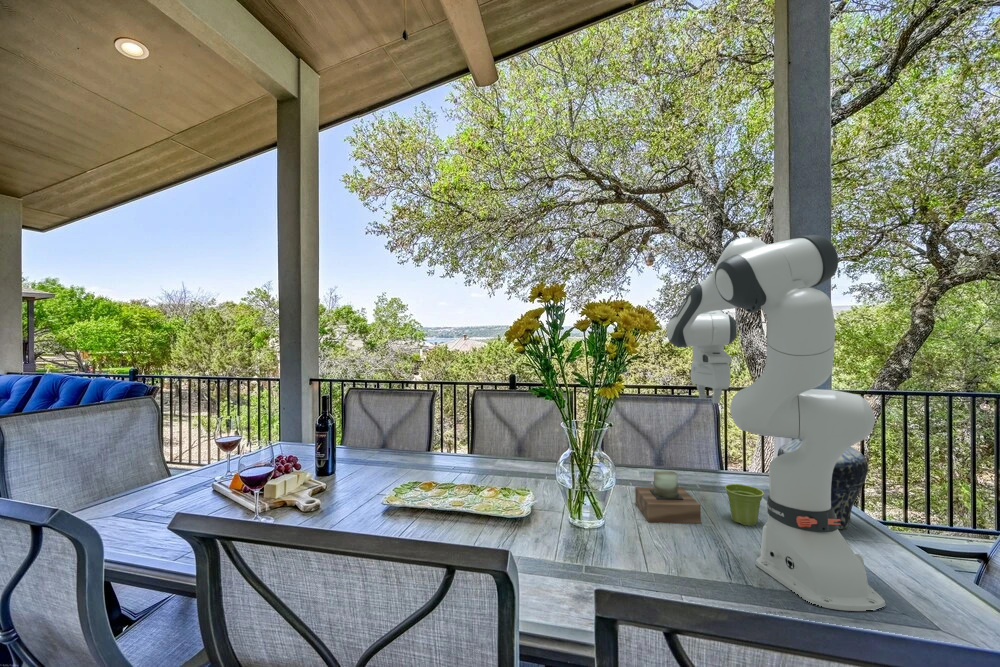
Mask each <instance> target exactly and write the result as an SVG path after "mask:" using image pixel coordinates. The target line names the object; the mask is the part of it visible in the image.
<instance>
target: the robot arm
mask: <svg viewBox="0 0 1000 667" xmlns="http://www.w3.org/2000/svg"><path fill="white" fill-rule="evenodd" d="M838 265H839V254H838V251H837V249H836V247H835V246H834V244H833V243H832V242H831V241H830V240H829V239H828V238H826V237H825V236H822V235H819V234H817V235H816V234H809V235H800V236H796V237H794V238H791V239H786V240H782V241H778V242H777V241H776V242H773V243H766V242H764V241H763V240H761V239H759V238H757V237H751V236H745V237H743V236H742V237H739V238H736V239H734V240H733V241H732V242H730V243H729V244H728V245H727V246H726V248H725V249H723V252H722V253H721V255H720V256H719V258H718V260H717V262H716V264H715V266H714V268H713V271H712V273H711V274H710V275H709V276H708V277H707V278H705V279H703V281H701V282H699V283H697V284H696V285H694V286H693V287H692V288H691V289H690V290H689V292H688V293H687V295H686V296H685V298H684V299H683V301H682V303H681V305H680V306H679V307H678V309H677V311H676V312H675V313H674V315H672V316H671V317H670V318H669V320H668V323H667V327H666V334H667V339H668V342H670V343H671V344H672V345H673V346H674V347H677V348H688V347H692V362H691V365H690V366H691V367H690V381H691V383H692V384H694V385H696V389H697V392H698V398H699V400H707V393H706V387H707V388H711V389H712V392H713V393H712V396H711V403H712V404H720V402H721V396H722V393H723V390H728V389H729V388H730V386H731V366H730V364H731V363H732V356H731V355H730V354H728V353H727V352H726V351H725V346H729V345H731V344H732V343H733V342H734V341H735V340H736V339H737V336H738V331H737V330H738V329H737V328H738V327H737V324H738V323H737V320H736V319H735V318H734V317H733V316H731V314H729V313H724V312H723V310H724V311H725V310H731V309H744V310H745V311H746V312H747V313H751V314H754V313H757V312H758V311H759V310H760V309H762V311H763V312H764V313H765V315H766V319H767V331H766V357H765V358H766V360H765V366H764V370H763V372H762V373H761V375H760V376H759V377H758V378H757V379H756V380H755V381H754V382H753V383H751V384H750V385H748V386H746V387H743V388H742V389H740V390H738V391H737V392H736V393H735V394H734V396H733V397H732V399H731V402H730V406H729V411H730V416H731V419H732V421H733V423H734V424H735V425H736V426H737V428H738V429H739V430H740V431H744V432H748V433H751V434H755V435H760V436H764V437H774V438H783V439H784V438H786V439H793V440H794V439H800V440H802V444H801V445H800V447H799V448H798V449H796V450H794V451H792V452H788V453H785V454H782V455H780V456H776V457H775V458H773V459H772V460H771V461H770V462H769V465H768V486H769V495H768V496H767V500H766V507H767V509H766V510H767V514H768V518H767V520H766V522H765V523H764V525H763V527H762V532H761V534H762V535H761V545H760V546H761V548H760V556H758V557H757V558H755V566H757V567H758V568H759V569H761V570H762V571H763V572H765V573H766V574H767V575H769V576H770V577H772V578H773V579H774V580H776V581H777V582H779V583H780V584H782V585H783V586H785V587H786V588H787V589H789V590H790V591H791V590H792V592H793V593H794V592H795V593H794V594H795V595H797V594H798V595H799V597H800V598H801V597H802V598H801V599H803V600H804V601H805V600H806V602H807V601H808V602H807V603H809V602H810V603H809V604H811V603H812V604H811V605H813V604H816V605H815V606H817V605H819V606H818V607H821V606H822V608H826V609H831V610H839V611H845V612H849V611H850V612H851V611H852V612H853V611H854V612H867V611H866V610H871V609H876V608H879V607H882V606H884V605H886V600H885V599H884V598H883V597H882V596H881V595H879V593H878V592H877V591H875V589H874V588H872V587H871V586H870V585H869V583H868V577H867V571H866V568H865V561H864V558H863V556H862V555H861V554H858V553H855V552H854V550H853V548H852V547H851V546H850V545H849V543H848V542H847V540H846V538H844V536H843V535H842V534H841V532H840V530H839V529H838V528H839V526H838V525H841V524H840V523H837V521H841V520H840V519H836V518H837V517H836V514H835V512H834V509H833V507H832V506H831V482H832V473H833V469H834V467H835V464H836V462H837V461H838V459H839V458H840V456H841V455H842V454H843V453H844V452H845V451H846V450H847V449H848V448H850V447H853V446H855V445H856V444H857V443H860V442H862V441H864V440H865V439H867V438H868V437H869V436H870V434H871V433H872V431H873V429H874V426H875V423H876V421H875V420H876V419H875V413H874V411H873V408H872V406H871V404H870V403H869V402H868V401H867V400H866V399H865V398H864V397H863V396H862V395H859V394H857V393H850V392H847V391H841V390H836V389H835V390H834V389H818V387H819V386H821V385H823V384H824V383H825V382H826V381H827V380H828V379H829V378H830V376H831V374H832V372H833V368H834V367H833V366H834V353H835V341H836V325H835V324H836V323H835V317H834V316H835V314H834V310H833V305H832V301H831V299H830V297H829V295H827V293H825V292H823V291H822V290H819V289H817V288H814V287H817V286H820V285H822V284H823V283H825V282H827V281H829V280H830V279H831V278H833V277H834V275H835V274H836V273H837V271H838V267H839V266H838ZM798 595H797V596H798Z"/></svg>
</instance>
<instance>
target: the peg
mask: <svg viewBox="0 0 1000 667" xmlns="http://www.w3.org/2000/svg"><path fill="white" fill-rule="evenodd" d="M653 487H654V494H655V495H657V496H659V497H664V498H675V497H677V496H678V487H679V486H678V472H676V471H672V470H670V469H669V470H668V469H658V470H654V471H653Z"/></svg>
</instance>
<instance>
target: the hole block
mask: <svg viewBox="0 0 1000 667" xmlns="http://www.w3.org/2000/svg"><path fill="white" fill-rule="evenodd" d="M634 487H635V493H634V494H635V495H634V496H635V504H637V505H636V507H638V509H639V510H640V512H641V513H642V515H643V517H644V518H645V519H646V521H647V522H648V523H653V522H656V523H657V524H659V522H663V524H674V523H675V524H702V514H701V513H702V511H701V510H702V509H701V504H700V503H699V502H698V500H696V499H695V498H694V497H693V496H692V495H691V494H690V493H688V492H687V491H686V490H685V489H684V488H683V487H679V486H678V496H677V497H675V498H664V497H659V496H657V495H655V494H654V486H634Z"/></svg>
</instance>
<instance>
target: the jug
mask: <svg viewBox="0 0 1000 667" xmlns="http://www.w3.org/2000/svg"><path fill="white" fill-rule="evenodd" d="M801 444H802V440H800V439H794V438H793V439H792V440H789V441H787V442H785V443H784V444H782V445H781V446H780V447H779V449H778V451H777V456H776V457H778V456H780V455H782V454H785V453H788V452H792V451H794V450H796V449H798V448H799V447H800V445H801ZM867 460H868V459H866V457H865V455H863V454H862V453H861V452H860V451H859V450H858V449H856V448H854V447H853V446H851V447H850V448H848V449H847V450H846V451H845V452H844V453H843V454H842V455H841V456H840V458H839V459H838V461H837V462H836V464H835V467H834V469H833V473H832V482H831V506H832V507H833V509H834V512H835V514H836V517H837V518H836V519H840V520H841V521H837V523H840V524H841V525H838V526H839V528H838V530H839V529H840V530H841V529H846V528H847V527H849V525H850V521H851V515H852V514H851V512H852V508H853V506H854V503H855V501H856V499H857V498H858V496H859V493H860V492H861V491H862V488H863V486H864V483H865V482H866V477H867V474H868V468H869V467H868V466H869V465H868V461H867Z"/></svg>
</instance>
